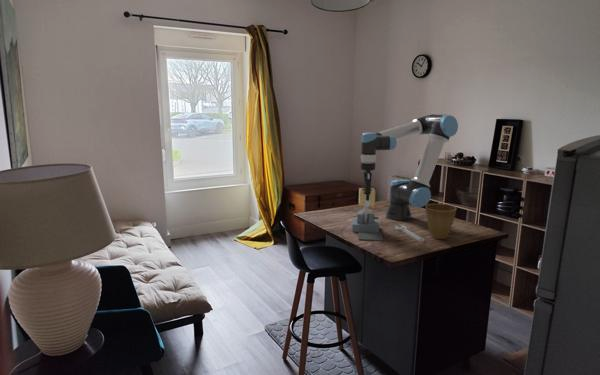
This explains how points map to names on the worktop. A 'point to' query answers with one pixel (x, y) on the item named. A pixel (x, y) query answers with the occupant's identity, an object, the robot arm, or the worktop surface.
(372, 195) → the brass collar
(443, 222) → the plant pot
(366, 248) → the worktop surface
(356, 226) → the vise
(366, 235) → the rubber mat
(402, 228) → the adjustable wrench
